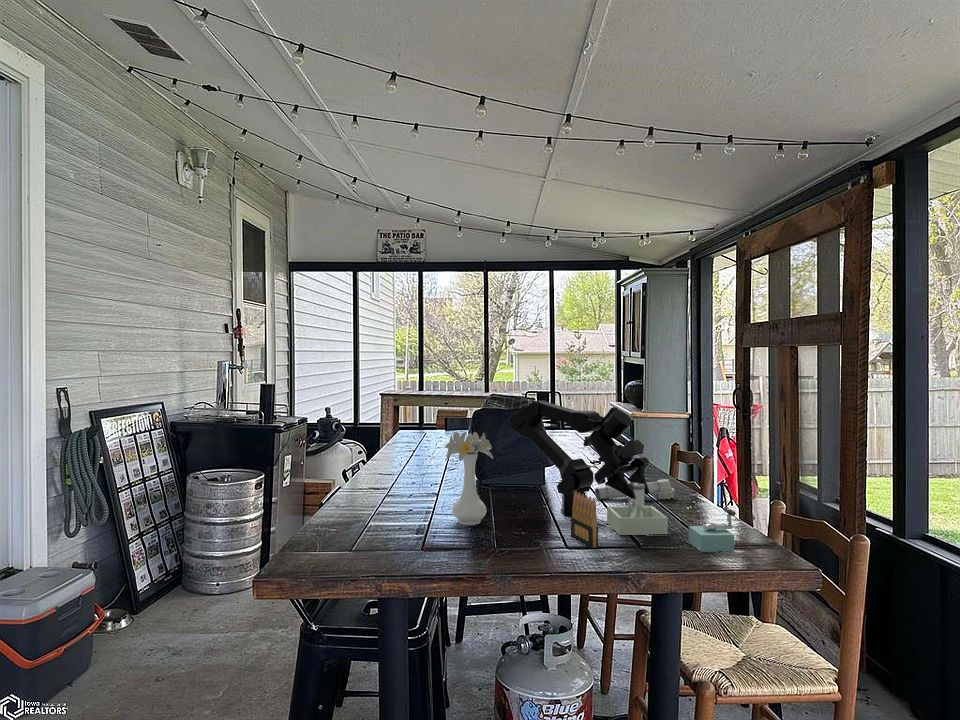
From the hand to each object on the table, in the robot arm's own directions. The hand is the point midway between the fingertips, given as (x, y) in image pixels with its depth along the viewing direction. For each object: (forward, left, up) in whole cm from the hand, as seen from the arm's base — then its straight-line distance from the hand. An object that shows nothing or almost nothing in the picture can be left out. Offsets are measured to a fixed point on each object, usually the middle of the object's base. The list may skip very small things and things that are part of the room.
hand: (641, 495), depth 179 cm
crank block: (+13, -15, -9) cm, 22 cm away
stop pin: (-1, +1, -8) cm, 8 cm away
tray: (-1, +1, -9) cm, 9 cm away
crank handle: (+14, -15, -5) cm, 21 cm away
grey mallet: (+9, +36, -10) cm, 38 cm away
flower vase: (-45, +10, -9) cm, 47 cm away
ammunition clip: (-17, -10, -9) cm, 22 cm away
